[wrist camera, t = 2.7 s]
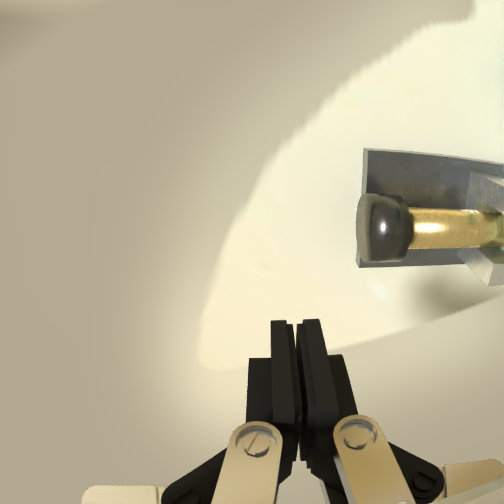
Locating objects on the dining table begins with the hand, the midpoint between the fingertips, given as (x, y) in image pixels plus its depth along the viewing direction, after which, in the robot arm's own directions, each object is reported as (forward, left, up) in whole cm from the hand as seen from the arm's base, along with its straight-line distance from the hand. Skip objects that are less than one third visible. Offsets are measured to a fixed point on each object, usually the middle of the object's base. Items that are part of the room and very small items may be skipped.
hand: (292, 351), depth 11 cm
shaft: (-13, 0, -14) cm, 19 cm away
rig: (-20, 0, -17) cm, 26 cm away
